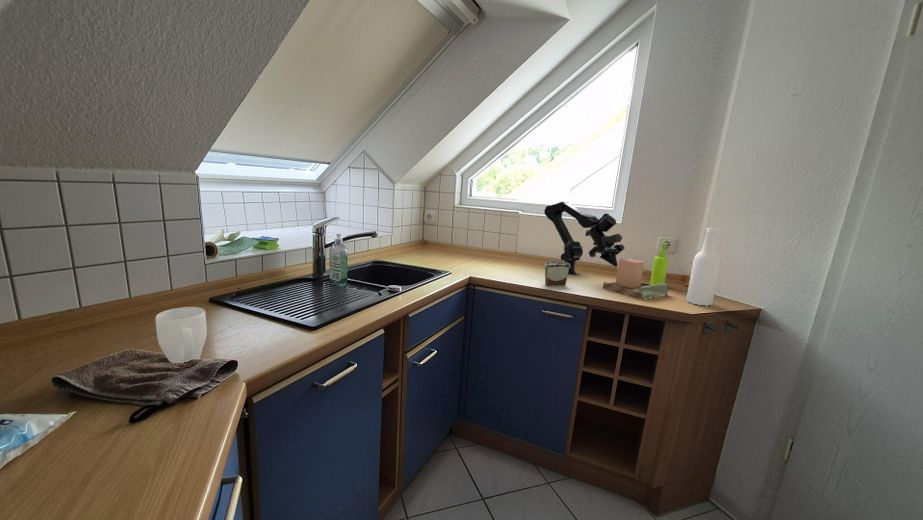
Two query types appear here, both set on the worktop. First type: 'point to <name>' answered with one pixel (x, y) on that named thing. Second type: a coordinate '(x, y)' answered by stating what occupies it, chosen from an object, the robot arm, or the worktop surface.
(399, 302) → the worktop surface
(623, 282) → the block
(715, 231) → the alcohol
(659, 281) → the soap dispenser
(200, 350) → the mug
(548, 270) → the food container
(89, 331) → the worktop surface
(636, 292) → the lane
